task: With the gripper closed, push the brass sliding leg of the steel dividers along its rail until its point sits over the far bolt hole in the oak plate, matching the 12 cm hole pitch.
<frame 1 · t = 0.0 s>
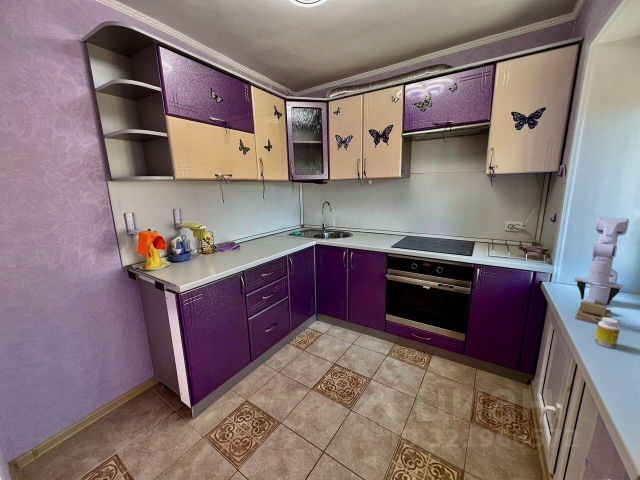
hand: (594, 301, 113), 10 cm above the worktop, tool pointing down, fingers open, 7 cm apart
supplement bottle: (605, 344, 101), on the worktop
divider head: (594, 311, 124), resting on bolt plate
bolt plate: (593, 315, 121), on the worktop
divider leg: (592, 308, 120), point 4 cm above the worktop, slide at 7.0 cm
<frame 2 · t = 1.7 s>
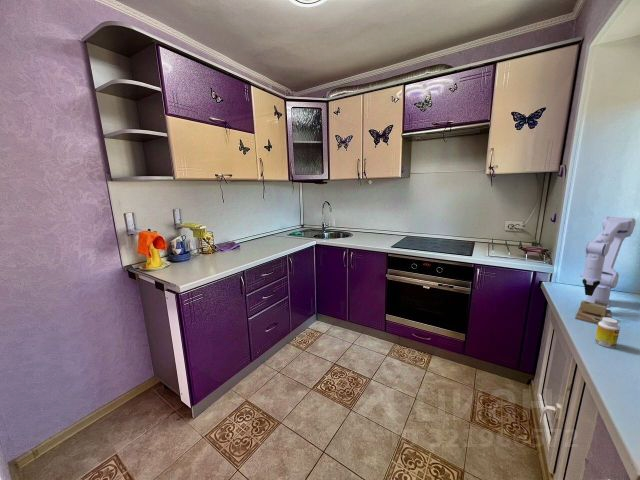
hand: (588, 295, 124), 8 cm above the worktop, tool pointing down, fingers closed
nothing on the worktop moved.
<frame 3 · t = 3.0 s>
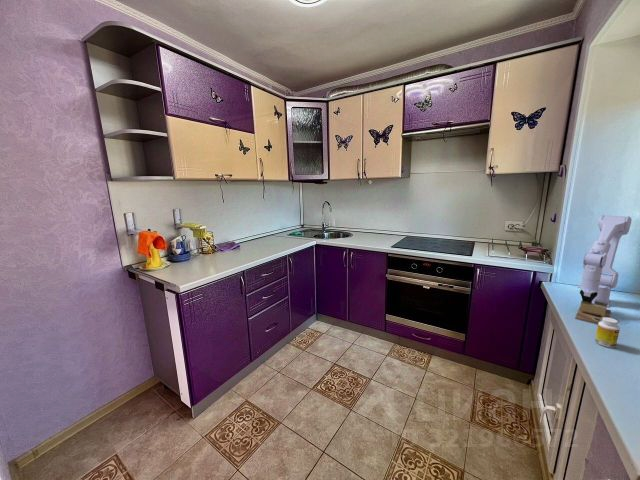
hand: (586, 306, 123), 3 cm above the worktop, tool pointing down, fingers closed
divider leg: (592, 309, 119), point 4 cm above the worktop, slide at 7.4 cm, touching gripper
everything else where it was.
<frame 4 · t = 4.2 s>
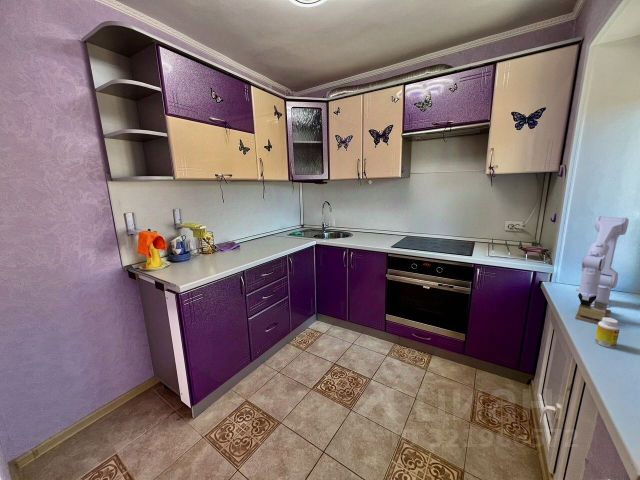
hand: (584, 310, 120), 3 cm above the worktop, tool pointing down, fingers closed
divider leg: (591, 312, 116), point 4 cm above the worktop, slide at 12.6 cm, touching gripper
everything else where it was.
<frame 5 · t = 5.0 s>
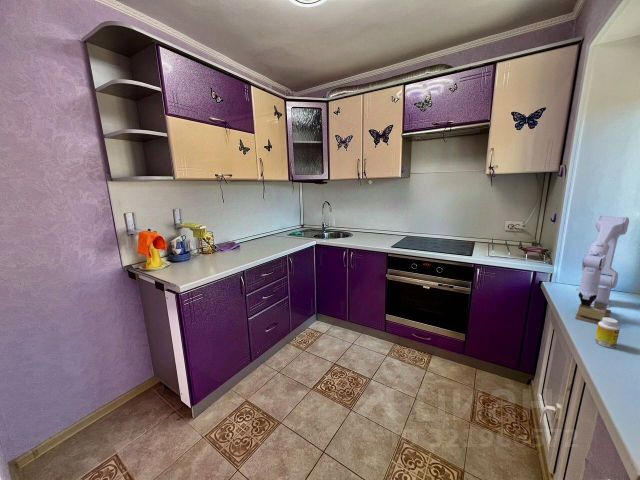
hand: (585, 309, 121), 3 cm above the worktop, tool pointing down, fingers closed
divider leg: (591, 312, 116), point 4 cm above the worktop, slide at 12.6 cm
everything else where it was.
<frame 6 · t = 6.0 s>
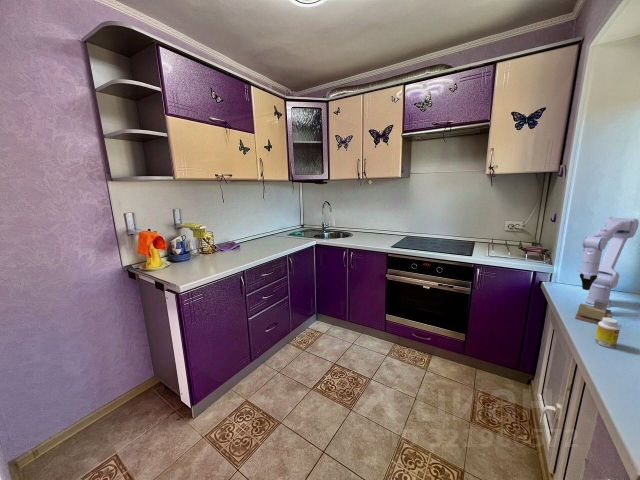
hand: (585, 289, 124), 10 cm above the worktop, tool pointing down, fingers closed
nothing on the worktop moved.
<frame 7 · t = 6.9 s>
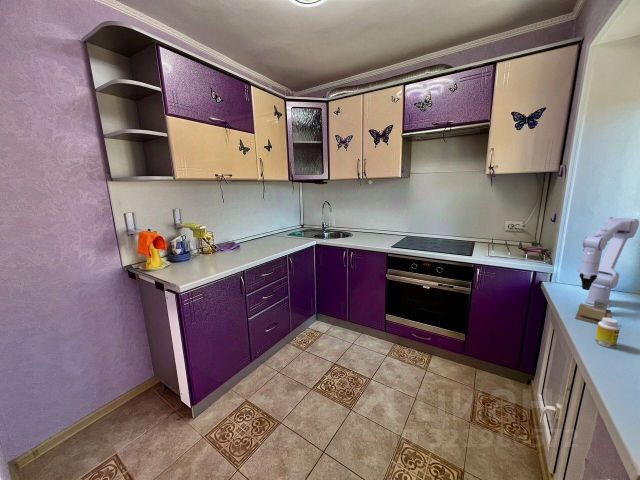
hand: (585, 289, 124), 10 cm above the worktop, tool pointing down, fingers closed
nothing on the worktop moved.
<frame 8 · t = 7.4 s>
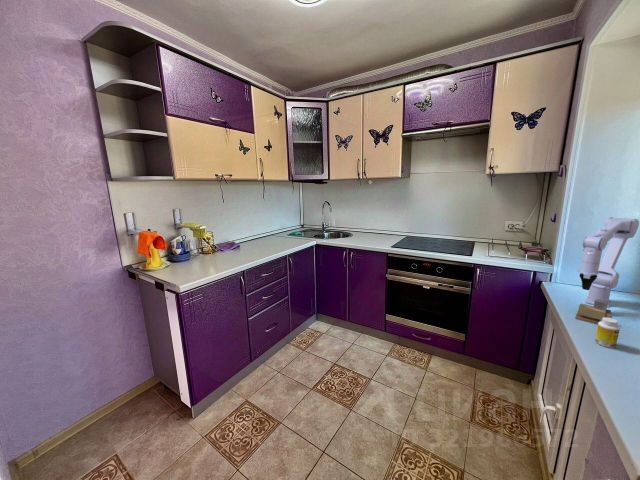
hand: (585, 289, 124), 10 cm above the worktop, tool pointing down, fingers closed
nothing on the worktop moved.
at the end: divider leg slide at 12.6 cm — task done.
